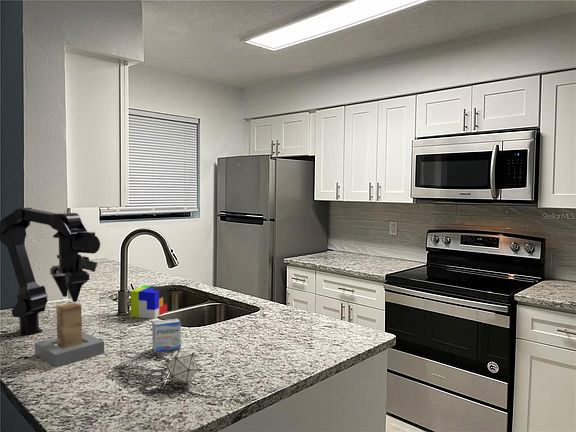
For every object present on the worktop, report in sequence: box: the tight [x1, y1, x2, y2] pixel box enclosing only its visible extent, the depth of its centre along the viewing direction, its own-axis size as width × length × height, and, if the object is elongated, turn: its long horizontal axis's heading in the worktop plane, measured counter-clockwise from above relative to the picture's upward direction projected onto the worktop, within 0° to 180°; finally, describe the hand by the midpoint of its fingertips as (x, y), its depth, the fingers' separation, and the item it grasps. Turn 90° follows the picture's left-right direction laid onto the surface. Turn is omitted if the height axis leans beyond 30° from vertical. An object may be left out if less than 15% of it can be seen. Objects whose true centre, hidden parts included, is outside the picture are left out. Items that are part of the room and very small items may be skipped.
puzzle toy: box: [130, 285, 168, 320], centre depth 173 cm, size 10×10×10 cm
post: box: [55, 301, 83, 349], centre depth 132 cm, size 5×5×12 cm
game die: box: [162, 349, 203, 387], centre depth 113 cm, size 9×8×10 cm
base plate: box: [34, 331, 105, 368], centre depth 132 cm, size 14×14×4 cm
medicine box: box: [151, 318, 182, 354], centre depth 137 cm, size 8×4×9 cm, turn 117°
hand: (70, 299), depth 145 cm, fingers open, 9 cm apart
